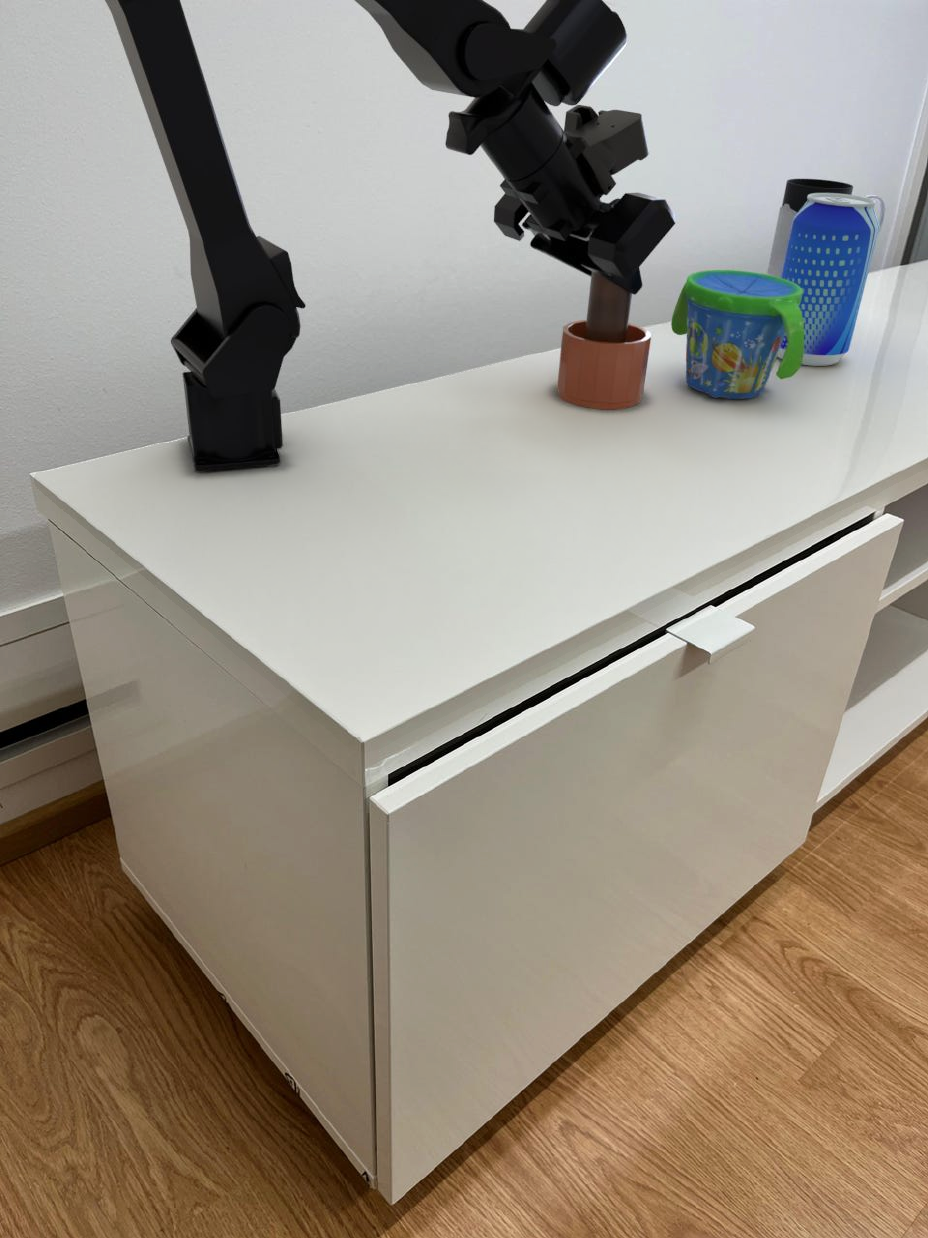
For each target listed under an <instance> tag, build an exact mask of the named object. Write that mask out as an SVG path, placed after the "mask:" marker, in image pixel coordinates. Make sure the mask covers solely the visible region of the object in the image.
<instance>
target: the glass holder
mask: <svg viewBox="0 0 928 1238" xmlns="http://www.w3.org/2000/svg"><path fill="white" fill-rule="evenodd" d="M853 190H854V185H852V184H850V183H847V182H841V181H837V180H836V181H835V180H828V179H819V178H789V179H787V180H786V184H785V189H784V194H783V199H782V204H781V206H780V207H779V212H778V216H777V221H776V226H775V231H774V237H773V240H772V242H773V243H772V245H771V246H772V247H771V251H770V255H769V256H770V257H769V262H768V266H767V271H766V275H771V276H775V277H779V278H781V276H782V271H783V266H784V261H785V257H786V252H787V247H788V242H789V237H790V232H791V227H792V223H793V219H794V217H795V215H796V214H797V213H798V212H799V210H800V209H801V208H802V207H803V206H804V204H805V203H806V202H807V200H808V199H807V196H808V195H809V194H813V193H837V194H848V195H853ZM863 197H866V198H870V199H874V200H877V201H878V203H879V208H880V209H879V217H878V222H879V232H878V236H877V238H878V237H879V235H880V233H881V231H882V227H883V224H884V220H885V216H886V211H887V210H886V208H887V207H886V204H885V201H884V199H883V198H882V197H880V196H878V195H876V194H867V195H864V196H863Z"/></svg>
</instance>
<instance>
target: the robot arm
mask: <svg viewBox="0 0 928 1238" xmlns="http://www.w3.org/2000/svg"><path fill="white" fill-rule="evenodd" d="M104 2H105V4H106V5H107V7H108V10H109V11H110V14H111V15H112V18H113V21H114V25H115V27H116V30H117V33H118V35H119V39H120V42H121V44H122V47H123V50H124V52H125V55H126V58H127V61H128V64H129V66H130V71H131V72H132V75H133V78H134V82H135V84H136V86H137V89H138V92H139V96H140V98H141V101H142V104H143V106H144V109H145V112H146V115H147V117H148V121H149V123H150V126H151V130H152V132H153V136H154V138H155V140H156V143H157V144H156V145H157V146H158V150H159V152H160V155H161V158H162V161H163V163H164V166H165V170H166V172H167V174H168V178H169V180H170V183H171V186H172V190H173V192H174V195H175V197H176V200H177V203H178V206H179V209H180V211H181V214H182V217H183V220H184V223H185V226H186V229H187V232H188V237H189V261H190V263H189V264H190V277H191V282H192V288H193V294H194V300H195V305H196V308H195V309H194V310H193V311H192V313H191V314H190V315H189V316H188V317H187V319H186V320H185V321H184V322H183V324H182V325H181V326H180V327H179V328H178V330H177V331H176V332H175V333H174V335H173V336H172V337H171V339H170V344H171V346H172V348H173V350H174V352H175V354H176V357H177V358H178V361H179V362H180V364H181V365H182V366H183V367H186V368H187V369H188V370H189V371H184V372H182V382H183V389H184V390H183V391H184V399H185V407H186V416H187V424H188V425H187V426H188V433H189V434H188V435H187V436H186V439H187V445H188V450H189V453H190V457H191V461H192V465H193V466H192V467H193V469H194V471H196V472H207V471H219V470H228V469H229V470H230V469H241V468H252V467H253V468H254V467H265V466H274V465H275V466H276V465H279V464H281V462H282V461H281V455H280V453H279V451H278V450H280V449H282V447H284V444H283V443H284V442H283V426H282V409H281V408H282V407H281V398H280V397H279V394H278V392H277V390H276V387H277V383H278V379H279V375H280V372H281V369H282V365H283V362H284V358H285V357H286V355H288V353H289V352H290V351H291V350H292V349H293V347H294V345H295V342H296V341H297V338H299V337H300V335H301V334H300V333H301V320H300V313H299V311H298V309H305V308H306V303H305V302H304V300H303V299H302V298H301V297H300V295H299V293H298V291H297V289H296V287H295V286H296V285H295V282H294V275H293V266H292V262H291V261H292V260H291V258H290V254H289V252H288V251H287V250H285V249H284V248H282V247H281V246H279V245H277V244H275V243H273V242H271V241H269V240H267V239H266V238H265V237H262V236H260V235H256V233H255V231H254V230H253V228H252V226H251V223H250V220H249V217H248V214H247V211H246V207H245V203H244V201H243V198H242V195H241V191H240V188H239V185H238V183H237V182H238V181H237V179H236V175H235V172H234V169H233V166H232V163H231V159H230V156H229V153H228V149H227V146H226V143H225V139H224V137H223V134H222V131H221V128H220V124H219V121H218V118H217V115H216V112H215V111H216V110H215V108H214V105H213V102H212V98H211V95H210V92H209V89H208V85H207V83H206V79H205V77H204V76H205V75H204V72H203V70H202V66H201V63H200V60H199V56H198V54H197V50H196V47H195V44H194V42H193V37H192V35H191V31H190V28H189V25H188V21H187V19H186V16H185V12H184V8H183V5H182V2H181V0H104ZM354 2H356V4H358V5H359V6H360V7H362V9H364V10H365V11H366V12H367V13H368V14H369V15H370V16H371V17H372V19H373V20H374V21H375V22H376V23H377V25H378V26H379V27H380V29H381V31H382V32H383V34H384V36H385V38H386V39H387V41H388V43H389V45H390V47H391V49H392V50H393V52H394V53H395V54H396V55H397V56H398V58H399V59H400V60H401V61H402V63H404V65H405V66H406V68H408V70H409V71H410V72H411V73H412V75H413V76H414V77H415V78H416V79H417V80H418V81H419V83H421V85H423V86H425V87H426V88H428V89H429V90H432V91H435V92H441V93H447V94H453V95H458V96H464V97H470V98H473V99H472V100H471V102H470V103H469V104H468V106H467V107H466V108H465V109H464V110H462V111H454V110H450V111H449V113H448V115H447V116H448V121H449V122H448V128H447V131H446V136H445V137H446V138H445V143H444V144H445V147H446V149H447V150H450V151H454V152H456V153H461V154H464V155H468V156H473V155H474V154H475V153H476V151H477V150H478V149H479V148H480V147H481V149H482V150H483V152H484V153H485V154H486V156H487V158H489V160H490V161H491V163H492V164H493V165H494V167H495V168H496V170H498V172H499V173H500V174H501V176H502V177H503V181H502V182H501V183H500V184H499V187H500V188H501V190H502V191H503V192H504V193H503V195H502V196H501V197H500V199H499V200H498V202H496V204H495V205H494V207H493V209H494V210H493V223H494V224H495V225H496V226H497V227H498V229H499V230H500V232H501V233H502V234H503V235H504V237H507V238H510V239H513V240H515V241H518V242H521V241H522V240H523V238H524V237H525V231H524V230H527V231H530V232H531V233H532V235H533V238H531V241H530V242H529V246H530V247H531V248H532V249H534V250H536V251H538V252H540V253H542V254H544V255H546V256H548V257H550V258H553V259H554V260H557V261H558V262H561V263H562V264H564V265H566V266H568V267H571V268H573V269H575V270H577V271H578V272H581V273H583V274H584V275H586V276H588V277H590V278H591V274H592V272H594V273H596V274H598V275H599V276H601V277H603V278H605V279H606V280H608V281H610V282H612V283H613V284H615V285H617V286H619V287H620V288H622V289H624V290H626V291H628V292H629V293H631V294H632V295H635V296H636V295H637V294H638V293H639V292H640V290H641V289H642V288H643V285H644V284H643V280H642V275H641V269H640V267H641V266H642V264H643V263H644V262H645V261H646V260H647V258H648V257H649V256H650V255H651V253H652V252H653V251H654V250H655V249H656V247H657V246H658V245H659V244H660V243H661V242H662V241H663V239H665V237H666V235H667V234H668V233H669V232H670V231H671V230H672V228H673V227H674V226H675V225H676V214H675V213H674V211H673V210H672V208H671V206H670V205H669V203H668V202H667V200H666V199H665V198H662V197H657V196H653V195H649V194H645V193H642V192H625V193H624V194H622V196H621V197H620V198H615V199H613V200H611V201H610V202H605V201H602V199H601V198H602V197H603V196H608V195H609V194H610V192H612V191H613V189H614V188H615V186H616V185H617V182H616V181H615V179H614V177H613V175H616V174H618V173H620V172H621V171H623V170H624V169H626V168H628V167H629V166H631V165H632V164H634V163H635V162H637V161H643V160H645V159H646V158H647V157H648V156H649V155H650V151H649V144H648V140H647V135H646V129H645V125H644V119H643V115H642V114H641V113H639V112H635V111H634V112H633V111H627V110H620V109H611V110H604V109H601V110H599V111H598V113H597V112H596V111H595V109H594V108H593V107H591V106H589V105H583V104H579V103H580V102H581V101H582V100H583V98H584V97H585V96H586V95H587V93H589V91H590V90H591V89H592V87H594V85H595V84H596V82H597V81H598V80H599V79H600V77H601V76H602V75H603V74H604V73H605V72H606V70H607V69H608V68H609V67H610V65H612V63H613V62H614V60H616V58H617V57H618V56H619V55H620V54H621V52H622V51H623V49H625V47H626V46H627V43H628V35H627V31H626V27H625V25H624V22H623V21H622V19H621V17H620V15H619V14H618V12H616V11H613V10H612V9H611V8H610V7H609V6H608V4H606V2H604V1H603V0H545V1H544V3H543V4H542V5H541V6H540V7H539V9H538V10H537V12H536V13H535V14H534V15H533V16H532V18H530V20H529V21H528V23H527V24H526V25H525V26H524V27H523V28H511V25H510V23H509V21H508V20H507V18H506V17H505V16H504V14H503V13H502V12H501V11H500V10H499V9H498V8H495V7H494V6H493V5H491V4H490V3H488V2H486V1H485V0H354ZM561 104H564V105H567V106H572V108H570V109H569V110H567V111H566V112H565V117H564V127H563V128H562V126H561V125H560V123H559V122H558V120H557V119H556V117H555V115H554V114H553V112H552V111H551V109H550V108H549V106H548V105H550V106H552V107H559V106H560V105H561ZM527 214H529V215H528V216H527ZM526 216H527V217H526ZM525 217H526V218H525ZM524 218H525V219H524ZM523 219H524V221H523V222H522V220H523ZM521 222H522V223H521ZM520 224H521V225H520Z"/></svg>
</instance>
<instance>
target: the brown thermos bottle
mask: <svg viewBox="0 0 928 1238" xmlns="http://www.w3.org/2000/svg"><path fill="white" fill-rule="evenodd" d="M589 283H590V284H589V293H588V301H587V310H586V311H587V312H586V319H585V320H586V329H585V338H584V339H586V340H592V341H598V342H608V343H626V337H627V329H628V323H629V322H630V321H629V320H630V314H631V305H632V299H633V294H631V293H629V292H628V291H626V290H624V289H622V288H620V287H619V286H617V285H615V284H613V283H612V282H610V281H608V280H606V279H605V278H603V277H601V276H599V275H598V274H596V273H594V272H592V274H591V277H590V282H589Z"/></svg>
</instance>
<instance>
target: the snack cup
mask: <svg viewBox="0 0 928 1238" xmlns="http://www.w3.org/2000/svg"><path fill="white" fill-rule="evenodd" d="M802 294H803V290H802V289H801V287H800V286H798V285H797V284H795V283H793V282H791V281H788V280H786V279H783V278H779V277H775V276H771V275H767V273H761V272H755V271H745V270H735V269H710V270H700V271H696V272H693V273H691V274H689V275H688V276H687V278H686V281H685V283H684V285H683V287H682V289H681V291H680V294H679V296H678V298H677V301H676V304H675V307H674V310H673V312H672V316H671V323H670V324H671V330H672V332H673V333H674V334H675V335H678V336H683V335H686V344H685V345H686V346H685V364H686V365H685V382H686V384H687V386H688V387H691V388H692V389H694V390H695V391H698V392H700V393H706V394H708V396H709V395H710V396H711V397H713V398H715V399H717V398H724V399H729V400H745V399H746V400H750V399H752V398H755V397H756V396H759V395H760V393H762V392H763V391H764V389H765V388H766V385H767V383H768V381H769V378H770V375H771V372H772V371H773V368H774V365H775V363H776V360H777V358H778V357H777V355H778V352H779V350H780V346H781V343H782V340H783V338H784V336H785V333H786V337H787V341H788V345H787V348H786V350H785V353H784V356H783V358H782V359H781V360H780V364H779V365H778V369H777V371H776V373H775V375H776V377H777V378H778V379H780V380H785V379H789V378H792V377H793V376H795V374H796V373H798V372H799V370H800V368H801V366H802V359H803V352H804V322H803V318H802V313H801V310H800V308H799V304H800V302H801V298H802Z"/></svg>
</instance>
